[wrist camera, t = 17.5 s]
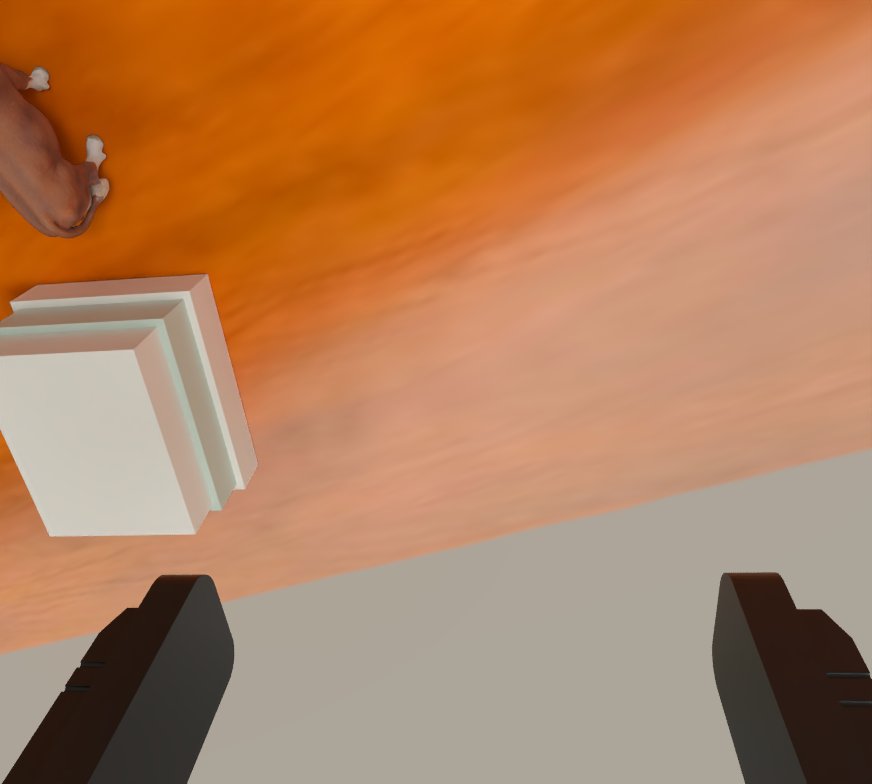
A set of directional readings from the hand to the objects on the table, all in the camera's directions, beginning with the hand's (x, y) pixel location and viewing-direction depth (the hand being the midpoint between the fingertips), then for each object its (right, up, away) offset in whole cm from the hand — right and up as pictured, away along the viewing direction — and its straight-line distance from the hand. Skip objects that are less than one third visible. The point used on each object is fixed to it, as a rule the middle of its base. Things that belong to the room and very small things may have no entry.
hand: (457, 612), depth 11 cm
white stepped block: (-20, +4, +39) cm, 44 cm away
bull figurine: (-23, +20, +31) cm, 43 cm away
